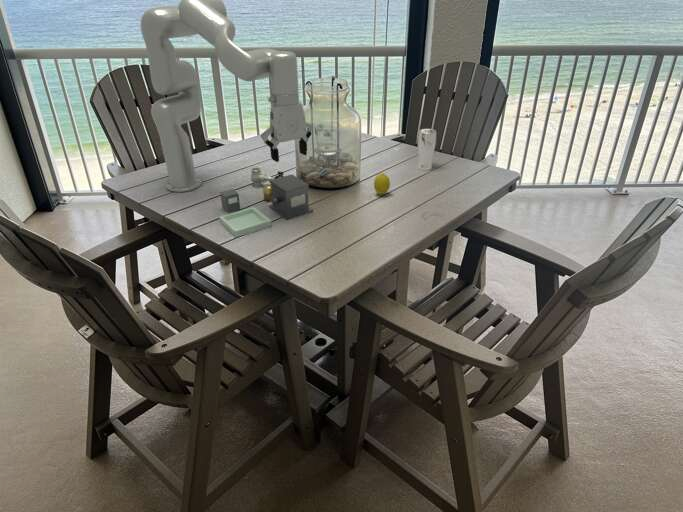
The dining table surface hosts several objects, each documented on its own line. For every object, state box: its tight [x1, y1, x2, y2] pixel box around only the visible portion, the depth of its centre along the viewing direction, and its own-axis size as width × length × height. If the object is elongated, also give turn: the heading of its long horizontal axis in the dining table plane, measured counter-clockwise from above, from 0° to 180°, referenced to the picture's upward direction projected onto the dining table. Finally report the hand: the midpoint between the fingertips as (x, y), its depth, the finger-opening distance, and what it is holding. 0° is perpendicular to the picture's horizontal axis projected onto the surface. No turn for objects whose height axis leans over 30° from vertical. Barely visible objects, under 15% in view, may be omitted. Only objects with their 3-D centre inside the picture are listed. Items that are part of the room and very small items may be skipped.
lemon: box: [373, 172, 391, 196], centre depth 159 cm, size 6×6×8 cm
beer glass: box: [416, 128, 437, 171], centre depth 179 cm, size 7×7×15 cm
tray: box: [218, 206, 273, 238], centre depth 142 cm, size 12×12×2 cm
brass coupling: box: [262, 183, 272, 203], centre depth 157 cm, size 4×4×5 cm
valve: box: [250, 166, 285, 188], centre depth 166 cm, size 7×7×12 cm
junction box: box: [268, 174, 314, 220], centre depth 149 cm, size 12×11×10 cm
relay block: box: [219, 188, 241, 214], centre depth 150 cm, size 5×4×6 cm
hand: (289, 157), depth 137 cm, fingers open, 9 cm apart
